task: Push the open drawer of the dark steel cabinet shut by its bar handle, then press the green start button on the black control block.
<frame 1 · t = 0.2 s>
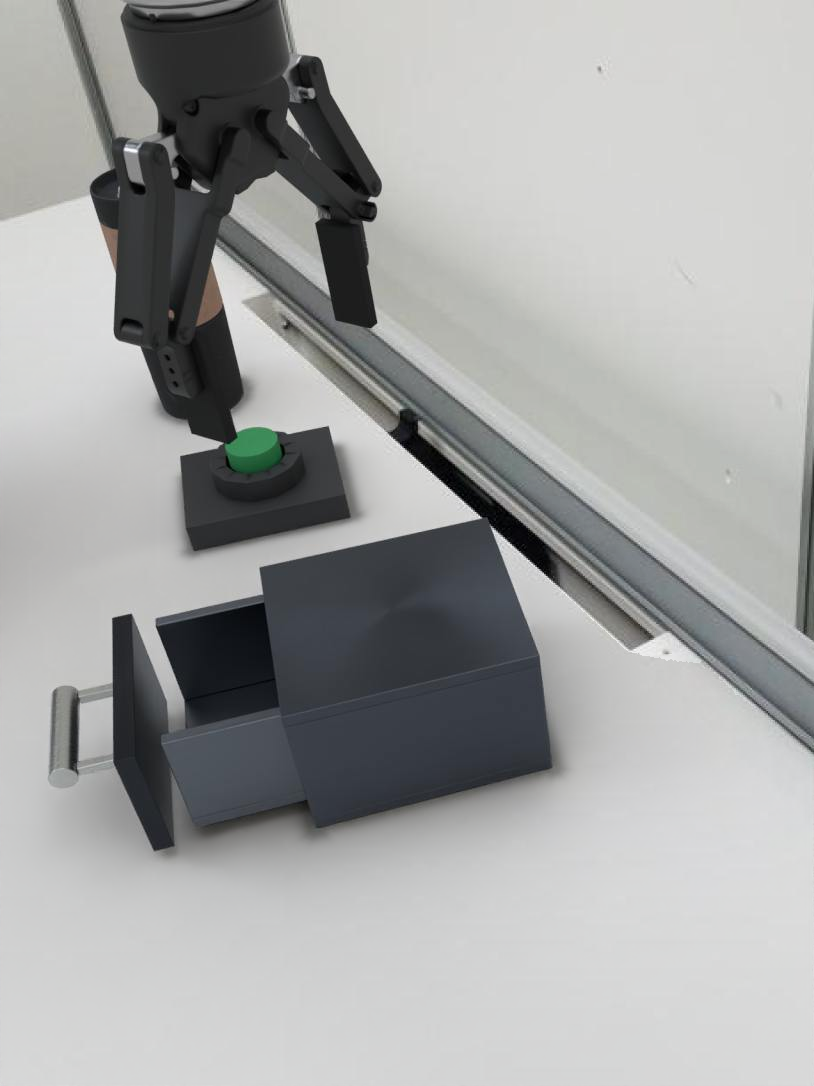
hand: (289, 376, 75), 20 cm above the table, tool pointing down, fingers open, 13 cm apart
cabinet: (416, 719, 82), on the table
drawer: (209, 713, 77), point 5 cm above the table, slide at 8.0 cm
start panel: (266, 497, 101), on the table
start button: (253, 450, 98), point 4 cm above the table, slide at 0.1 cm
travel mug: (204, 399, 113), on the table
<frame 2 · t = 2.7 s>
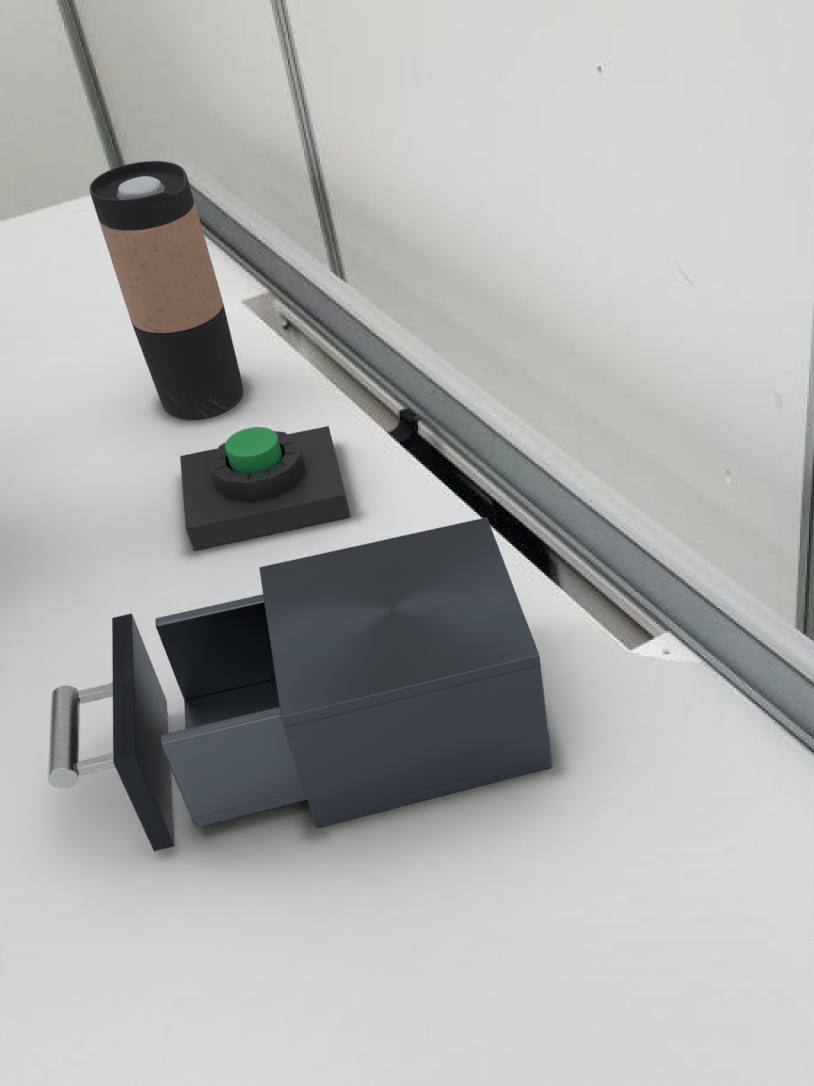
nothing on the table moved.
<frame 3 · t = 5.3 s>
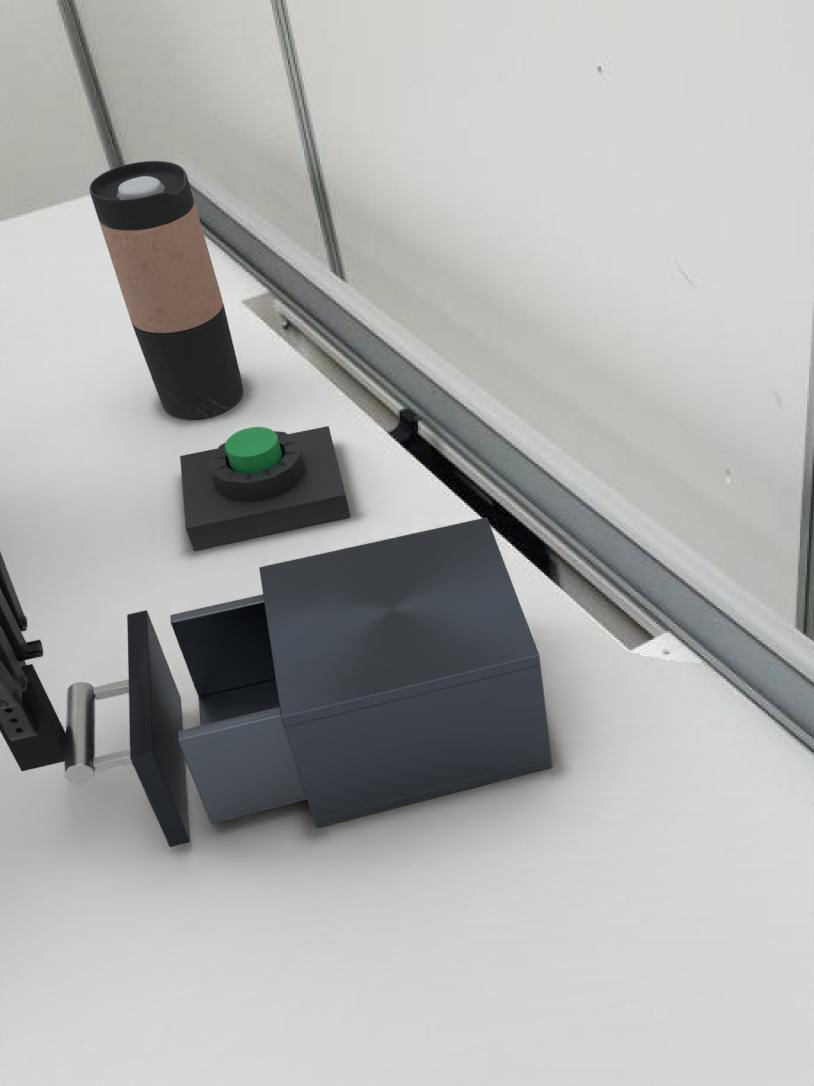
hand: (46, 756, 75), 5 cm above the table, tool pointing down, fingers closed
drawer: (224, 709, 77), point 5 cm above the table, slide at 7.1 cm, touching gripper
everything else where it was.
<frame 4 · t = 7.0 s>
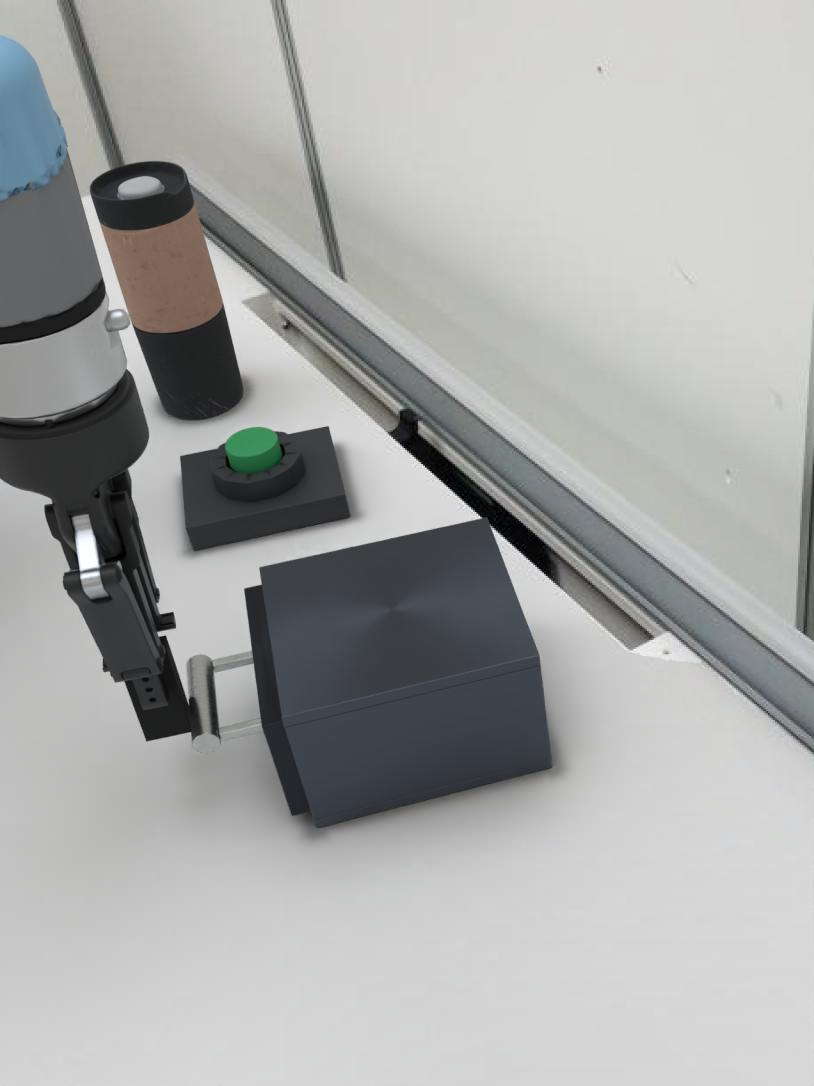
hand: (169, 727, 76), 5 cm above the table, tool pointing down, fingers closed
drawer: (341, 681, 78), point 5 cm above the table, slide at 0.0 cm, touching cabinet, gripper
everything else where it was.
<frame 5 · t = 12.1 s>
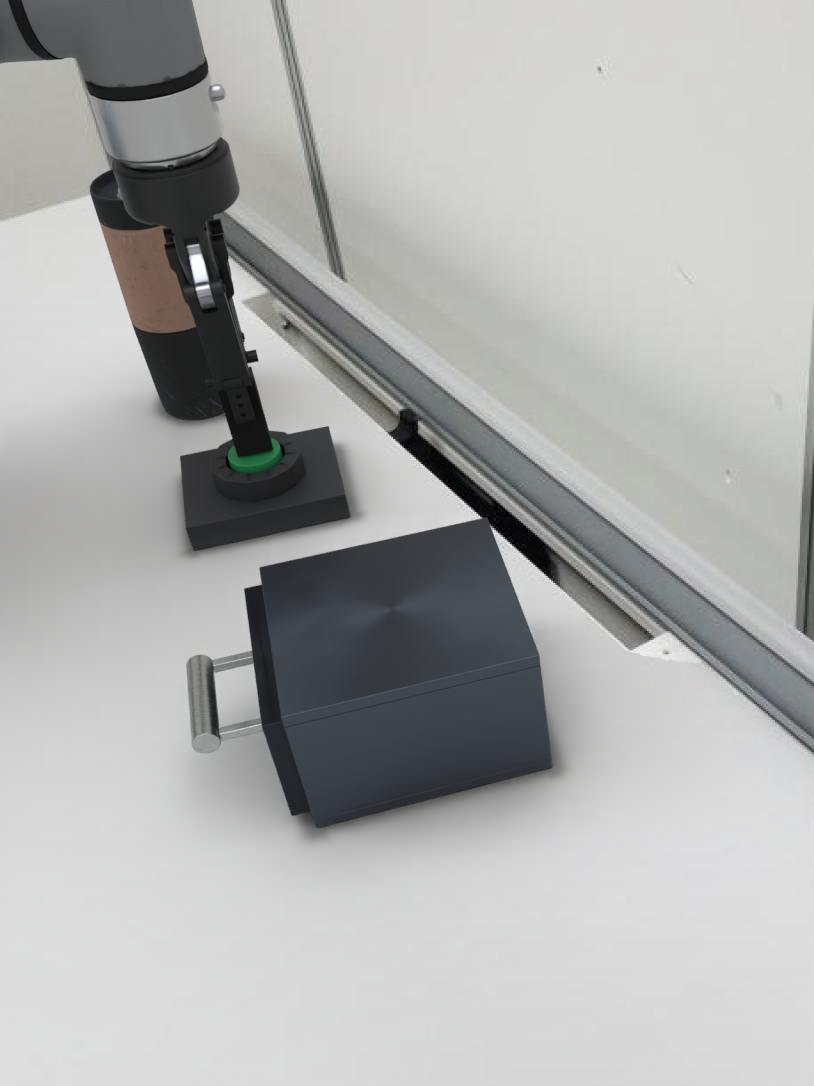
hand: (254, 447, 98), 5 cm above the table, tool pointing down, fingers closed
drawer: (341, 681, 78), point 5 cm above the table, slide at 0.0 cm, touching cabinet
start button: (256, 460, 99), point 4 cm above the table, slide at -0.8 cm, touching gripper
everything else where it was.
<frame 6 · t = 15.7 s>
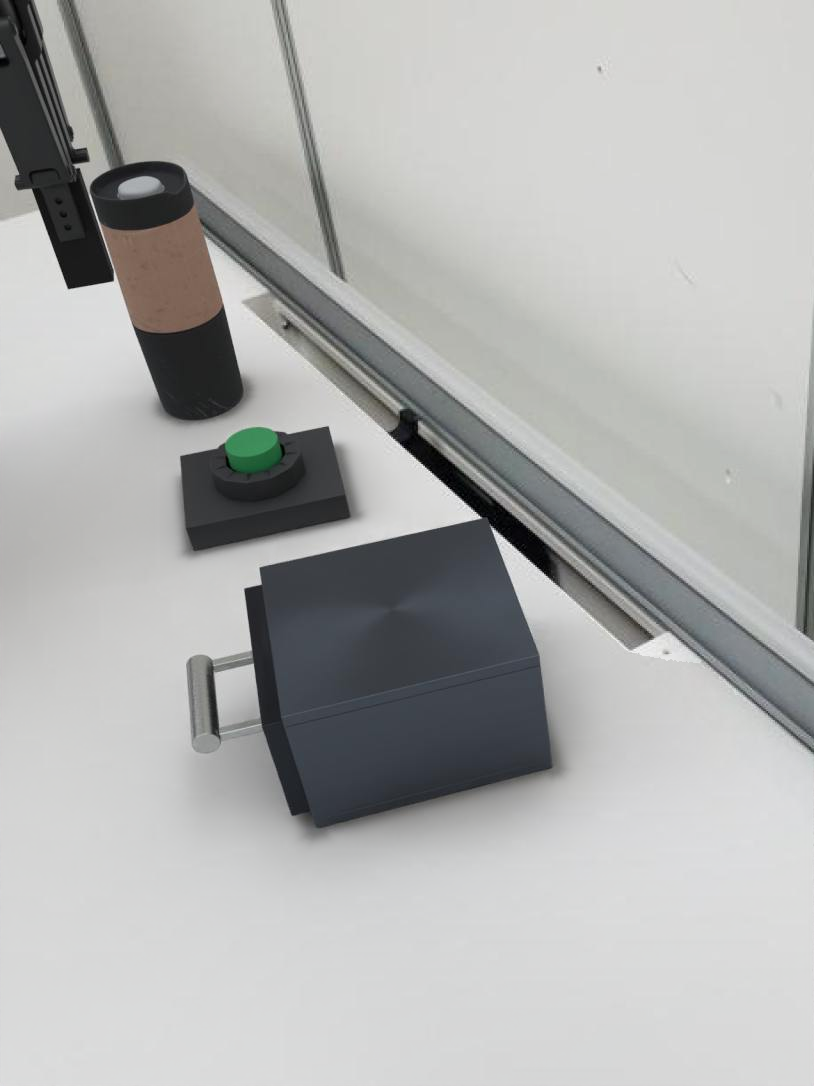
hand: (91, 279, 78), 24 cm above the table, tool pointing down, fingers closed
start button: (253, 450, 98), point 4 cm above the table, slide at 0.1 cm
everything else where it was.
at the end: drawer slide at 0.0 cm; start button pushed in 1.0 cm at the most during the clip, back to where it started at the end; start button slide at 0.1 cm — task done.
